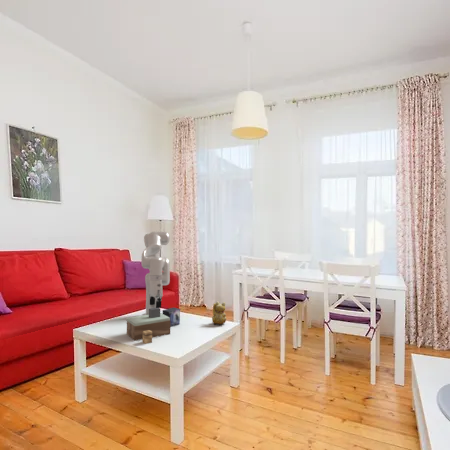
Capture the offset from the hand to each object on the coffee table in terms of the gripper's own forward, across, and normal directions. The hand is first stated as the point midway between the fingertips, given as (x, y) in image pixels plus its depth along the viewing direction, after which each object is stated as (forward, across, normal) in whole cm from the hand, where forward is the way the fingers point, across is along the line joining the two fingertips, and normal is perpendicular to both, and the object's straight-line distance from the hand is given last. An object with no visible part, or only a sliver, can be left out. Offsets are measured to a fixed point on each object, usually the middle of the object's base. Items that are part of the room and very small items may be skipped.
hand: (155, 306), depth 196 cm
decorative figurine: (+16, -5, -43) cm, 47 cm away
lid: (+8, +1, +4) cm, 9 cm away
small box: (+16, +10, -15) cm, 24 cm away
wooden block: (+17, -12, +10) cm, 23 cm away
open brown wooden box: (+16, +1, +4) cm, 17 cm away
